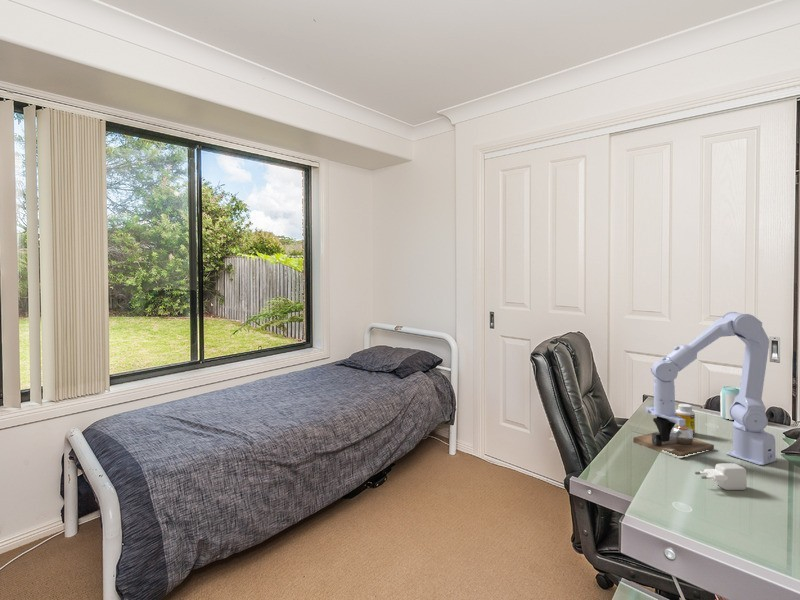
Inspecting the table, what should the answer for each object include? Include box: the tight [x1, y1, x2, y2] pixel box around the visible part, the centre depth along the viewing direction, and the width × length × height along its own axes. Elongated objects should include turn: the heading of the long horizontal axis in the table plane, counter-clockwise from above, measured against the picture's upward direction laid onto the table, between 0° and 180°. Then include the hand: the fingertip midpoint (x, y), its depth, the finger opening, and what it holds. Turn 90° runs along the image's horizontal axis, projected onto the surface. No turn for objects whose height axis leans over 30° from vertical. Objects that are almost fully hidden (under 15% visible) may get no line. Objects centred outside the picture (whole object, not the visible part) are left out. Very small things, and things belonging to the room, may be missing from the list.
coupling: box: [651, 425, 694, 446], centre depth 137 cm, size 13×6×5 cm, turn 100°
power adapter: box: [694, 462, 748, 491], centre depth 110 cm, size 11×5×6 cm, turn 87°
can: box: [719, 386, 740, 421], centre depth 161 cm, size 7×7×12 cm
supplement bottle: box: [675, 403, 696, 435], centre depth 148 cm, size 6×6×10 cm
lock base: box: [632, 430, 715, 456], centre depth 139 cm, size 16×16×2 cm
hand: (664, 440), depth 135 cm, fingers closed
